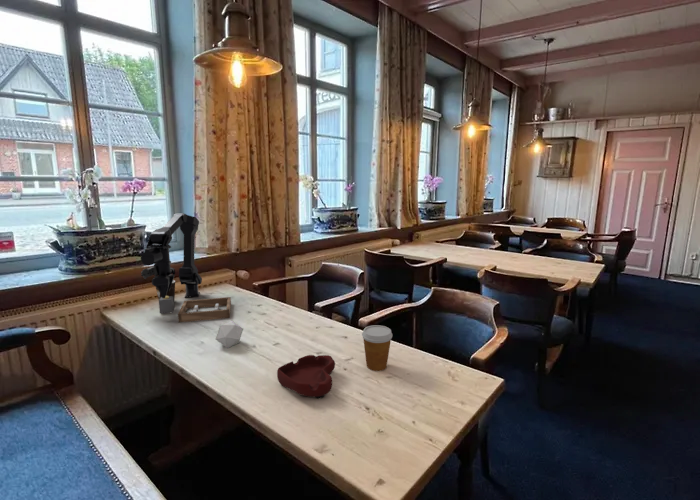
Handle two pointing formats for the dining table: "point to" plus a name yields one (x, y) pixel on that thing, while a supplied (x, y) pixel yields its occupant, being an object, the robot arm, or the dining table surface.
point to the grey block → (166, 304)
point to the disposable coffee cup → (377, 346)
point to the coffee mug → (170, 293)
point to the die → (229, 334)
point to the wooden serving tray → (204, 314)
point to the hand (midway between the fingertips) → (165, 294)
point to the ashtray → (308, 375)
